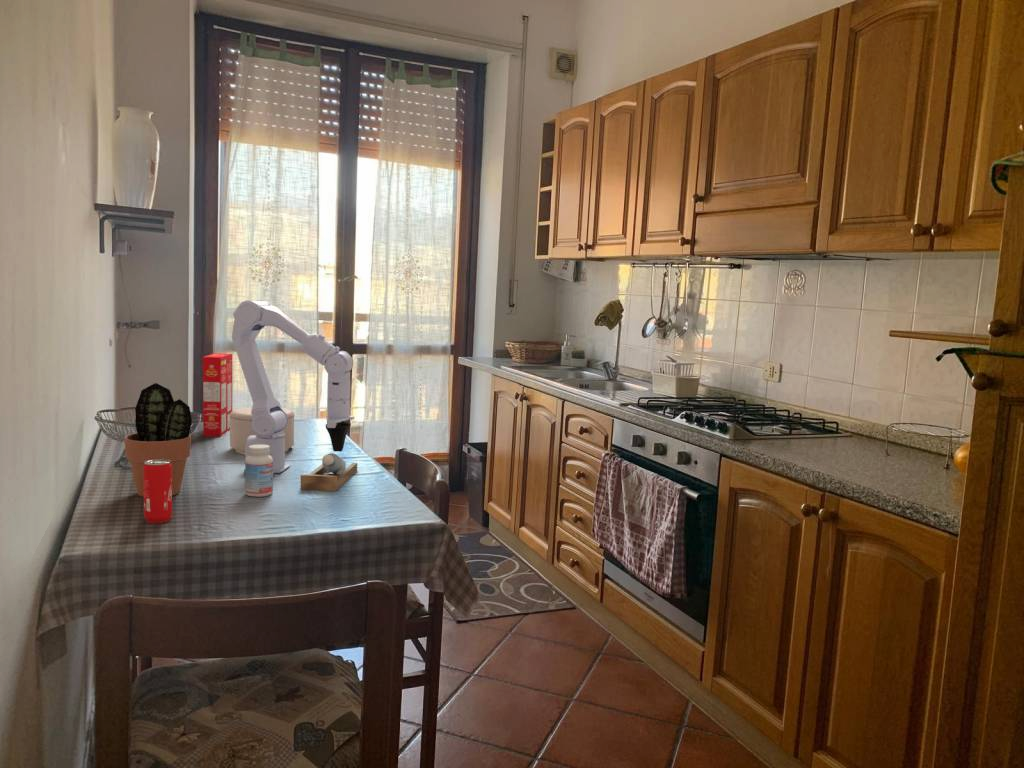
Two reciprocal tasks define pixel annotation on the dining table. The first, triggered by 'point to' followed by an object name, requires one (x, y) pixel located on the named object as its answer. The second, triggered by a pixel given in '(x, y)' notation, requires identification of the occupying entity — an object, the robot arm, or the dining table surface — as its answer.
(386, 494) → the dining table surface
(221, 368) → the food packaging
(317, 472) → the cradle
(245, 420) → the container
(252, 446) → the pill bottle
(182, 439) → the potted plant
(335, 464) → the bottle
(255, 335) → the robot arm
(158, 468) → the beverage can
